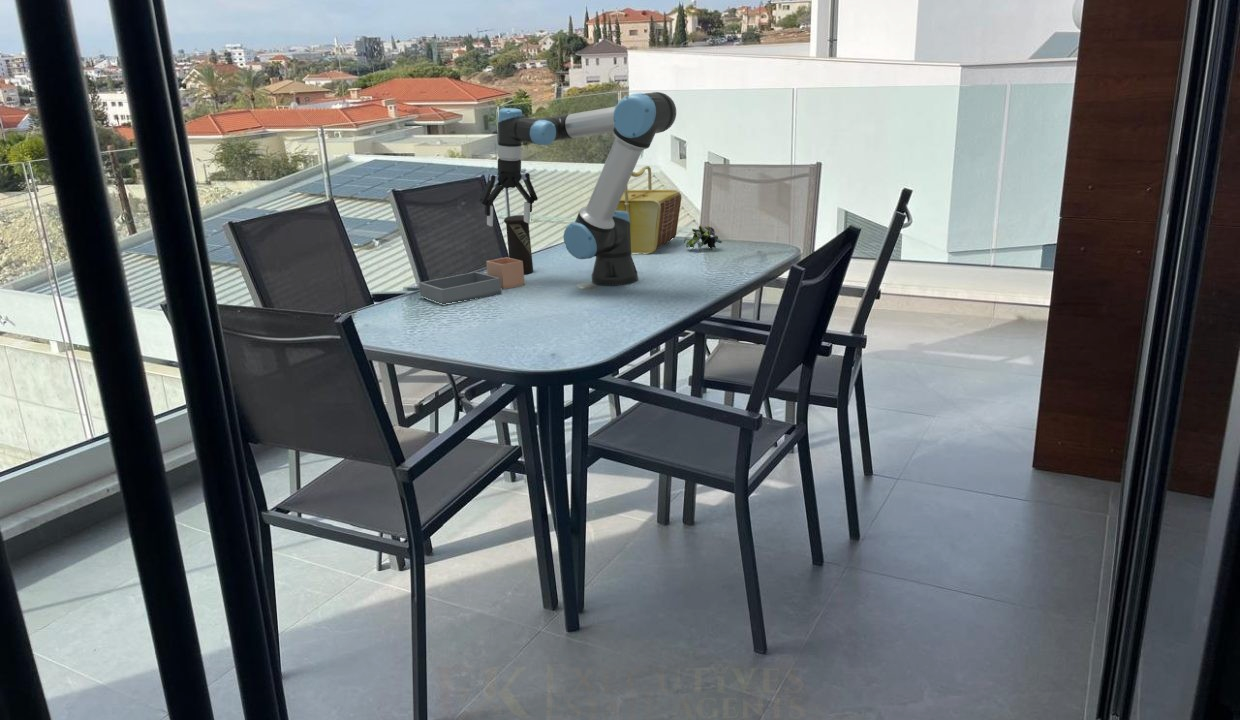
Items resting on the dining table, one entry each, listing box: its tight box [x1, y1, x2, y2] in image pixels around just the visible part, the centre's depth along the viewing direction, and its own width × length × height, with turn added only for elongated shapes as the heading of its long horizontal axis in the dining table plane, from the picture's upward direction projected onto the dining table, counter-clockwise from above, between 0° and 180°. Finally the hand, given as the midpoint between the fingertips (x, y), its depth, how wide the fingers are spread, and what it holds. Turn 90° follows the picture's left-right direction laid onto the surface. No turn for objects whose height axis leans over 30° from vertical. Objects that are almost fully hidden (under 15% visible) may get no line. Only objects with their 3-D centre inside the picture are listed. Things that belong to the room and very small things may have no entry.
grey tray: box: [418, 271, 503, 304], centre depth 290 cm, size 16×21×5 cm
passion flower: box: [683, 225, 723, 252], centre depth 339 cm, size 11×11×12 cm
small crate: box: [485, 256, 526, 290], centre depth 301 cm, size 10×8×8 cm
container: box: [503, 214, 534, 275], centre depth 317 cm, size 9×9×20 cm
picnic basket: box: [616, 165, 682, 254], centre depth 348 cm, size 29×26×30 cm
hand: (508, 223), depth 299 cm, fingers open, 13 cm apart
